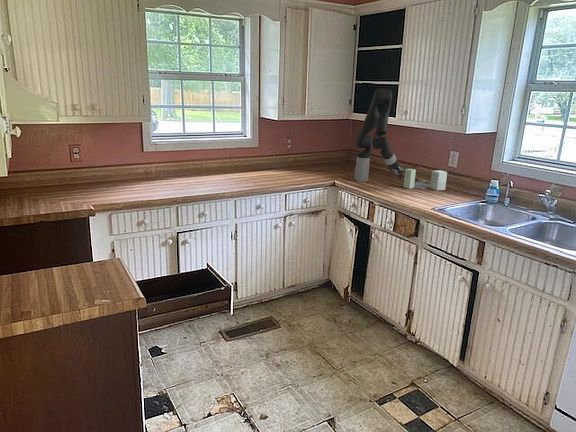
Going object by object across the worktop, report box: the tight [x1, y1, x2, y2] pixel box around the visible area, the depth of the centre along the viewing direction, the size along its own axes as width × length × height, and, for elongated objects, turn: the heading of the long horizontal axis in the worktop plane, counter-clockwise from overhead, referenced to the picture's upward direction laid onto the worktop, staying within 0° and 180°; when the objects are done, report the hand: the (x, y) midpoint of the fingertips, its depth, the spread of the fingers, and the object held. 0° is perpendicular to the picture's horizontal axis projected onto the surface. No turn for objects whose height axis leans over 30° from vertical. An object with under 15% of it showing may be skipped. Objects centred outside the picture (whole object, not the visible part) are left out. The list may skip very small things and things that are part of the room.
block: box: [403, 168, 417, 190], centre depth 307 cm, size 5×5×13 cm
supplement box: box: [429, 169, 448, 191], centre depth 307 cm, size 7×7×13 cm
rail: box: [417, 178, 431, 185], centre depth 322 cm, size 16×2×2 cm, turn 38°
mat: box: [403, 181, 431, 190], centre depth 317 cm, size 16×17×1 cm
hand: (400, 176), depth 301 cm, fingers closed
